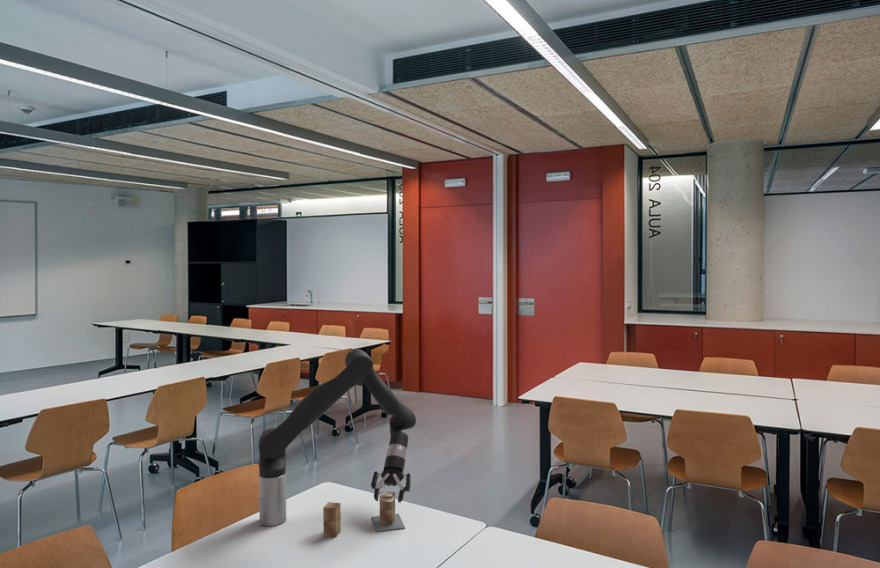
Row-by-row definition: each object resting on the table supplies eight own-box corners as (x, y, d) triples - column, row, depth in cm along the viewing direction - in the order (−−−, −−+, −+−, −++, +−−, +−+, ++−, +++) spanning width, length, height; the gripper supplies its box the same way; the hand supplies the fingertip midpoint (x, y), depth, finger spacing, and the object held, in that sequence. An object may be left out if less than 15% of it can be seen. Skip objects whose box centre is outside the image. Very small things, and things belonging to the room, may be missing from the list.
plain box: (323, 536, 198) (323, 507, 198) (328, 530, 202) (328, 502, 202) (336, 537, 197) (335, 508, 197) (340, 531, 201) (340, 503, 201)
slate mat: (376, 532, 201) (376, 530, 200) (371, 518, 212) (371, 516, 212) (405, 528, 203) (405, 527, 203) (398, 515, 215) (398, 513, 215)
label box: (379, 524, 206) (379, 495, 206) (383, 518, 210) (382, 490, 210) (392, 525, 205) (391, 496, 205) (395, 519, 209) (395, 491, 209)
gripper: (375, 453, 217) (366, 495, 206) (412, 455, 214) (405, 497, 203) (379, 462, 222) (370, 504, 211) (415, 464, 220) (408, 506, 209)
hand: (387, 501), depth 207 cm, fingers open, 8 cm apart
